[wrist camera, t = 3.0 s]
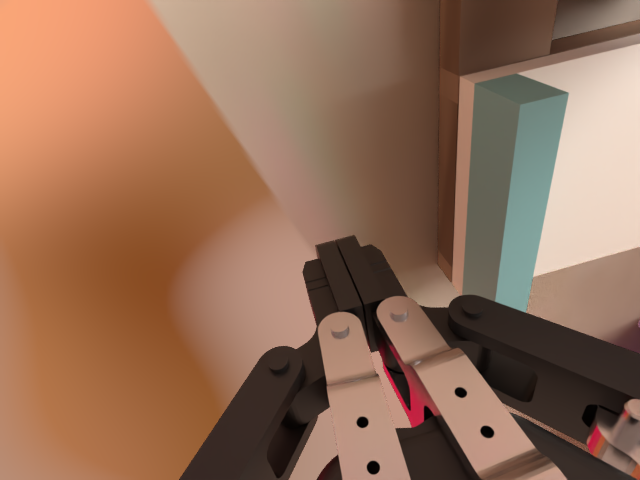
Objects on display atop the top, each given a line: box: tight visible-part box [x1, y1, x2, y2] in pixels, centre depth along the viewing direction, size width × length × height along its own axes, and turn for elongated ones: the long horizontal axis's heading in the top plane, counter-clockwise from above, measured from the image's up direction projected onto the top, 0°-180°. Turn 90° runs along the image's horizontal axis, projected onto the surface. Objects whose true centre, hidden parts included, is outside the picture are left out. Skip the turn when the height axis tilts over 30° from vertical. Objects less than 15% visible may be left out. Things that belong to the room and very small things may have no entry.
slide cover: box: [452, 34, 640, 313], centre depth 16 cm, size 10×10×4 cm
